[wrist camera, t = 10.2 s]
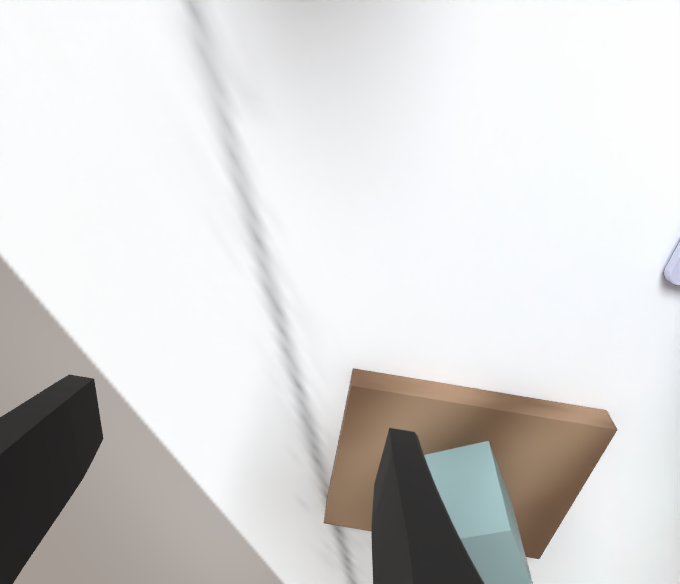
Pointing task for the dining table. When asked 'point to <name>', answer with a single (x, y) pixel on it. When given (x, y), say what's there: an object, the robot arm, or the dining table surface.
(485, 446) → the teal cube
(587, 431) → the walnut board
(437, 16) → the dining table surface
